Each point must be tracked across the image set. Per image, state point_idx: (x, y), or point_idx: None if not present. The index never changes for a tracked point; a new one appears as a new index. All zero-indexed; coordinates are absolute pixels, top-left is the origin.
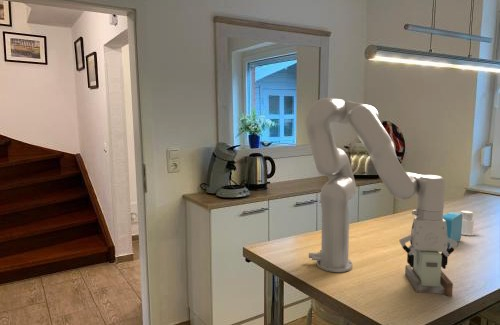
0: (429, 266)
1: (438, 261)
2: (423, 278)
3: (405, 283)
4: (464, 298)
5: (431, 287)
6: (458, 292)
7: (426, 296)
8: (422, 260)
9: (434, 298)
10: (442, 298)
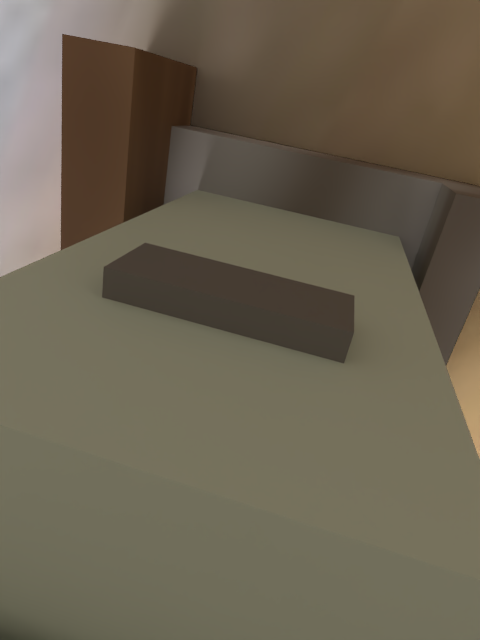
0: (300, 283)
1: (50, 302)
2: (380, 256)
3: (461, 380)
4: (43, 3)
5: (303, 177)
6: (52, 142)
7: (425, 69)
8: (464, 426)
9: (359, 10)
10: (266, 8)
